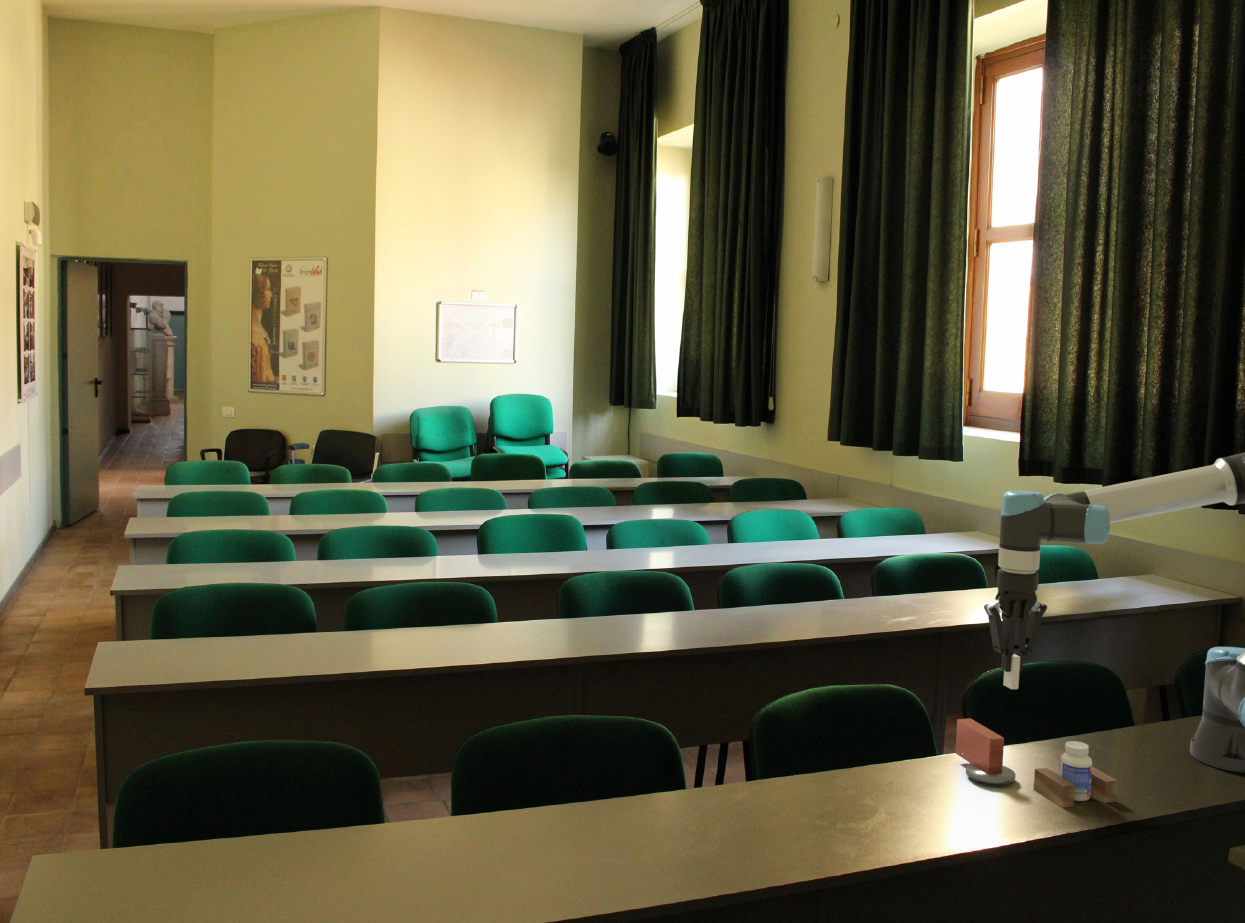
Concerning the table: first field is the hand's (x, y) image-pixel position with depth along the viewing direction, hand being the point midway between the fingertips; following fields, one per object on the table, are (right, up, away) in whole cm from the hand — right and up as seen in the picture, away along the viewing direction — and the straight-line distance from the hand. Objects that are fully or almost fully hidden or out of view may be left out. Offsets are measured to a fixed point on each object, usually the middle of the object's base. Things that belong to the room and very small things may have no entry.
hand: (1010, 686), depth 204 cm
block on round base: (-7, -15, -4) cm, 17 cm away
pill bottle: (+7, -18, -13) cm, 23 cm away
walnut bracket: (+7, -17, -13) cm, 23 cm away
